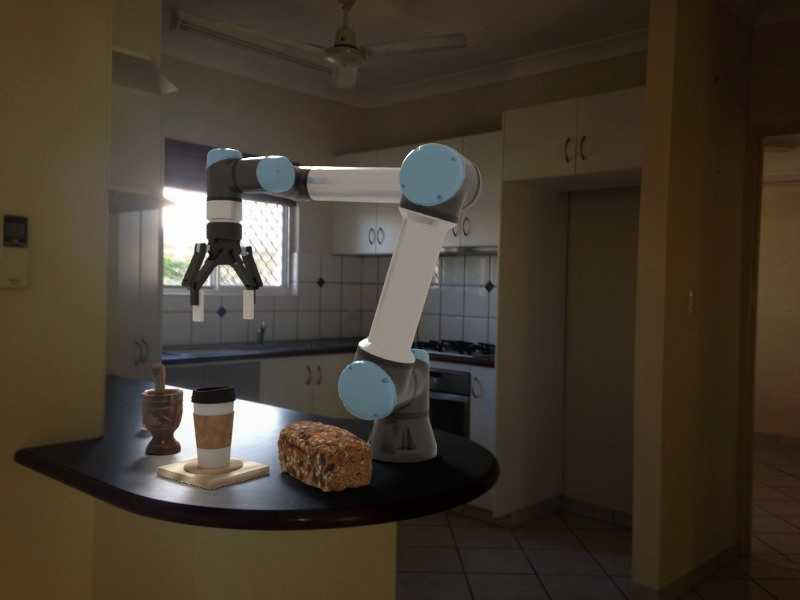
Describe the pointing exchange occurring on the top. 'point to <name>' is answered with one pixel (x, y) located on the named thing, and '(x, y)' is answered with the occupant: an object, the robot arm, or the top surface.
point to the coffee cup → (213, 424)
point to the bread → (324, 456)
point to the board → (213, 472)
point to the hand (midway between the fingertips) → (224, 320)
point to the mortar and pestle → (162, 414)
